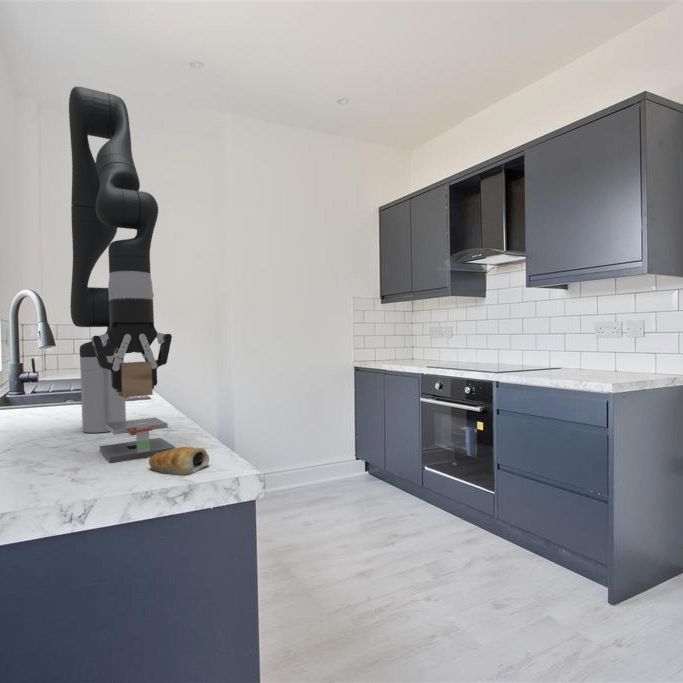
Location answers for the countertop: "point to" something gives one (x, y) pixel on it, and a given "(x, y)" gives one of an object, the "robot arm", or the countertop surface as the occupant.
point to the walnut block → (136, 379)
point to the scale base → (135, 447)
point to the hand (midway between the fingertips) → (134, 389)
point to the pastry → (180, 460)
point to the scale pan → (131, 426)
